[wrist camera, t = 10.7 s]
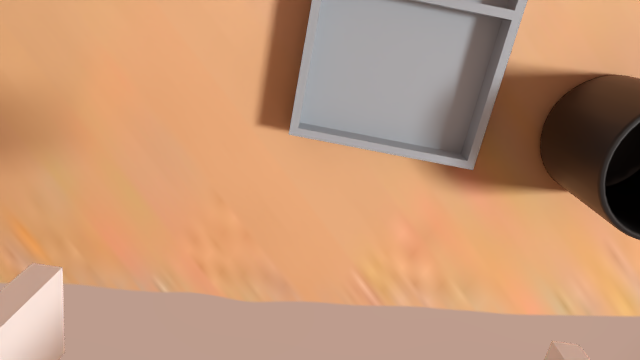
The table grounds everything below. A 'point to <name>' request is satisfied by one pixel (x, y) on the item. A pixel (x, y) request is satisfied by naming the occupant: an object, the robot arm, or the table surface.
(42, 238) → the table surface
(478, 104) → the caddy
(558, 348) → the robot arm
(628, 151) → the mug
